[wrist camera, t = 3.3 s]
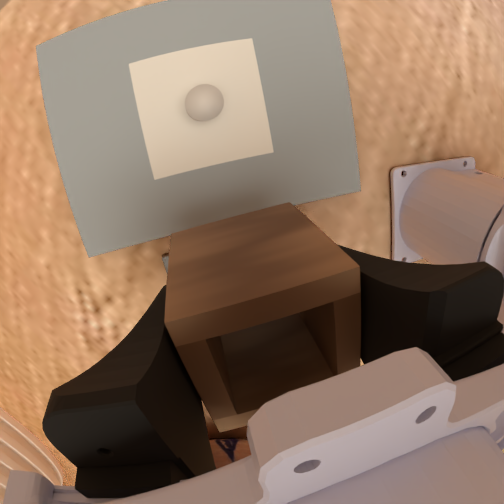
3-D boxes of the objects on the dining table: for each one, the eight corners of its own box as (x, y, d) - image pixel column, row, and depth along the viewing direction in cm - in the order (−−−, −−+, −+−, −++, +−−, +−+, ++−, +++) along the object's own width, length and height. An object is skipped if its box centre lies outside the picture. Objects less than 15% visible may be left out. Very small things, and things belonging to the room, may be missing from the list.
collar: (289, 201, 13) (359, 266, 8) (304, 300, 15) (359, 388, 10) (170, 233, 13) (164, 322, 7) (204, 328, 15) (219, 432, 10)
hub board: (321, -9, 15) (348, -29, 12) (353, 187, 21) (385, 202, 17) (42, 48, 13) (13, 37, 10) (92, 251, 19) (75, 279, 16)
